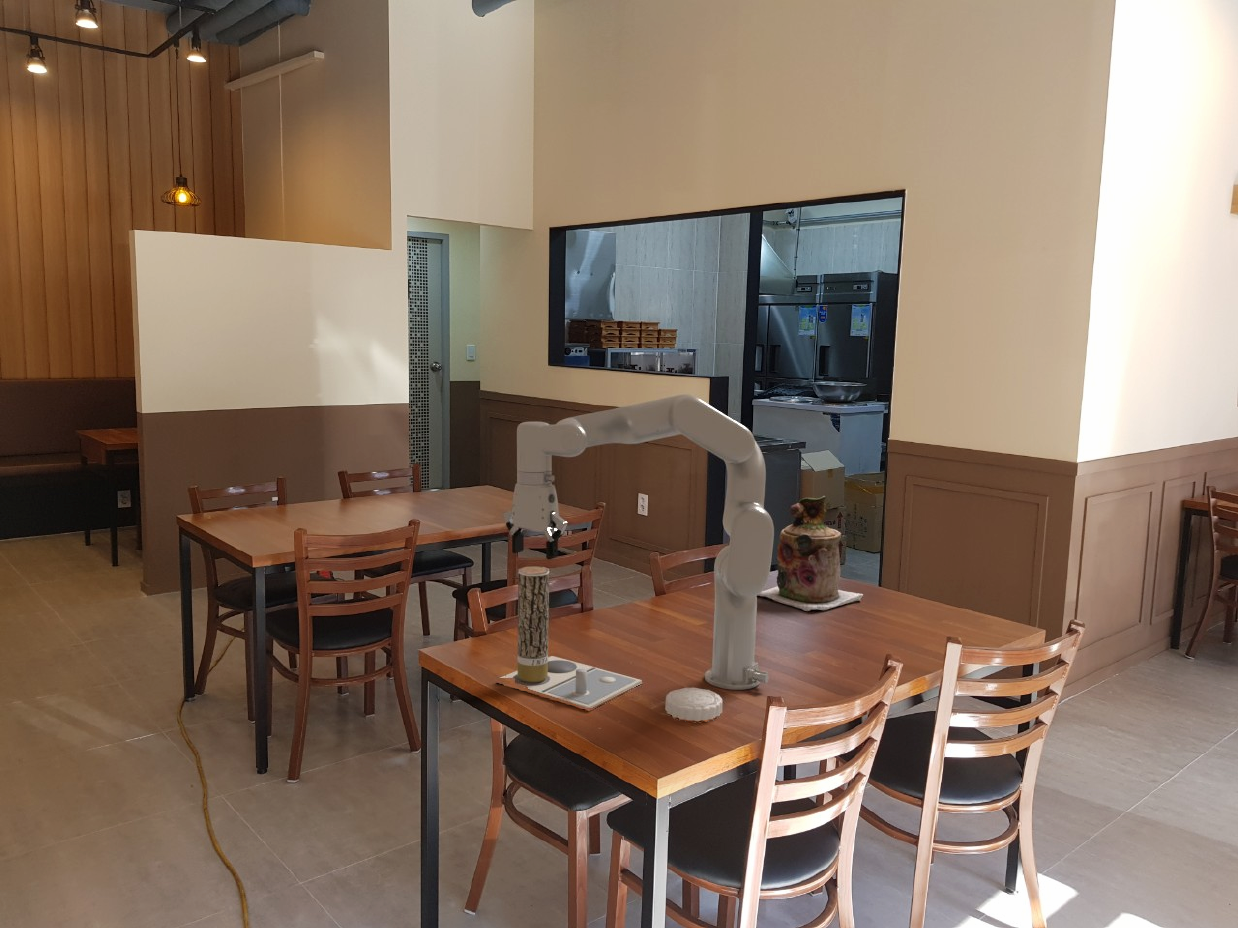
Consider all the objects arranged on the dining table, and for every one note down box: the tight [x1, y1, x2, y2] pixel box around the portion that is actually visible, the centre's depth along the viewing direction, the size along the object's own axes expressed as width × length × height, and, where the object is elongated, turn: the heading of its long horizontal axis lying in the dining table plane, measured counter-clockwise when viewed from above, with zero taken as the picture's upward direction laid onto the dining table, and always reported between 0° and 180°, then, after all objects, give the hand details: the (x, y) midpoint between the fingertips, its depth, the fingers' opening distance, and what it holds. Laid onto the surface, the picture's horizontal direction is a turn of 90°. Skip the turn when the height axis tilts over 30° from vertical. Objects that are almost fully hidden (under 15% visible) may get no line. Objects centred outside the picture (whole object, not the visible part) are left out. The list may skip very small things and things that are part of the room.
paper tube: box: [517, 566, 550, 683], centre depth 214 cm, size 7×7×25 cm
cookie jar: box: [757, 495, 864, 612], centre depth 290 cm, size 25×25×32 cm
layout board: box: [499, 655, 643, 708], centre depth 216 cm, size 26×20×6 cm
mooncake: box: [664, 686, 723, 721], centre depth 202 cm, size 12×12×4 cm
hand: (534, 555), depth 212 cm, fingers open, 9 cm apart
